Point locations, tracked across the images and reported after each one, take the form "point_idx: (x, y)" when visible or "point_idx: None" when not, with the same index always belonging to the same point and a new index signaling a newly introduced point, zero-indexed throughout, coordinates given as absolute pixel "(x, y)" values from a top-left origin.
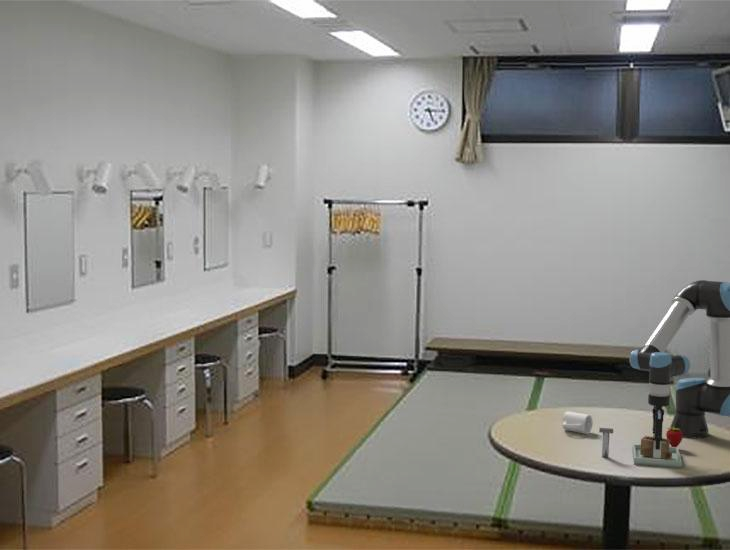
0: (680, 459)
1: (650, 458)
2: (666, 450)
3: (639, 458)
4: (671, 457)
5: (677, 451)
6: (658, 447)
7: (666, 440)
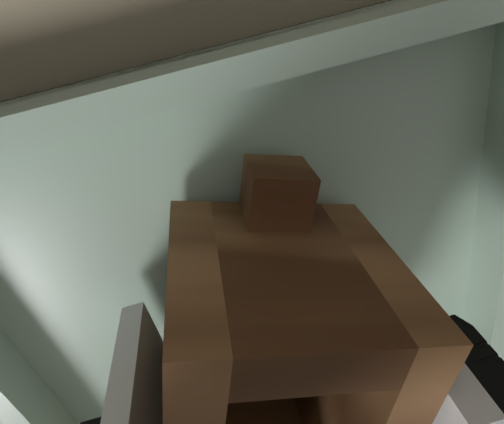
0: (480, 6)
1: (500, 299)
2: (324, 251)
3: (501, 355)
4: (259, 155)
5: (33, 133)
6: (481, 346)
7: (275, 382)
